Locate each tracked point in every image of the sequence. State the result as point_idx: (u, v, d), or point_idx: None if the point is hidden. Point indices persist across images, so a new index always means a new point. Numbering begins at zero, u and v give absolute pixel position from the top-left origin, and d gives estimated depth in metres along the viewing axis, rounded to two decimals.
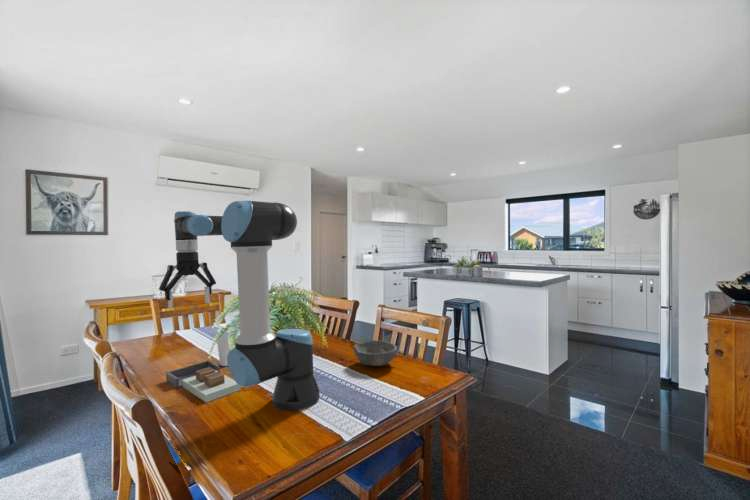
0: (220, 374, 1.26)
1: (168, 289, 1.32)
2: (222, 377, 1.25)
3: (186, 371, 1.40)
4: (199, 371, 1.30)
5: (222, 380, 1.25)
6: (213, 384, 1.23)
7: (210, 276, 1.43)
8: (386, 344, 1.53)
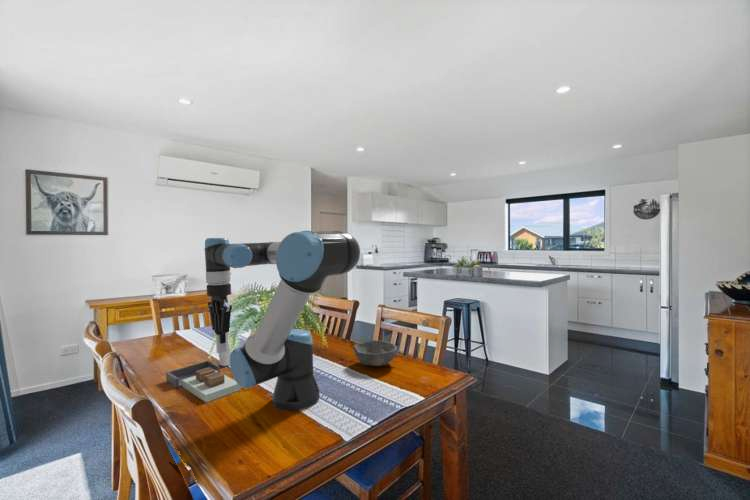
0: (220, 374, 1.26)
1: (215, 330, 1.20)
2: (222, 377, 1.25)
3: (186, 371, 1.40)
4: (199, 371, 1.30)
5: (222, 380, 1.25)
6: (213, 384, 1.23)
7: (221, 322, 1.17)
8: (386, 344, 1.53)
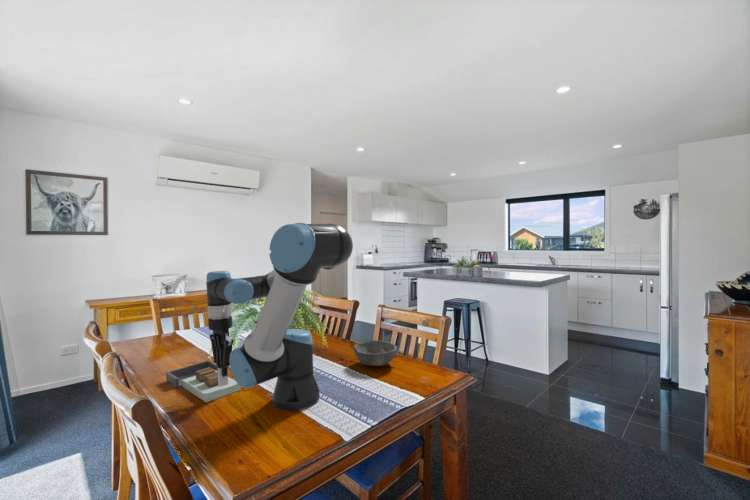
0: None
1: (216, 363, 1.21)
2: None
3: (186, 371, 1.40)
4: (199, 371, 1.30)
5: None
6: (213, 384, 1.23)
7: (223, 356, 1.17)
8: (386, 344, 1.53)
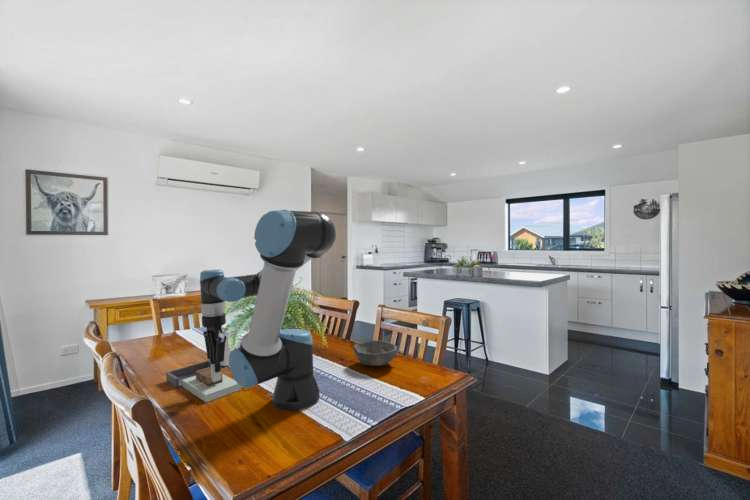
0: None
1: (210, 359, 1.24)
2: None
3: (186, 371, 1.40)
4: (199, 371, 1.30)
5: None
6: (212, 383, 1.24)
7: (216, 352, 1.21)
8: (386, 344, 1.53)
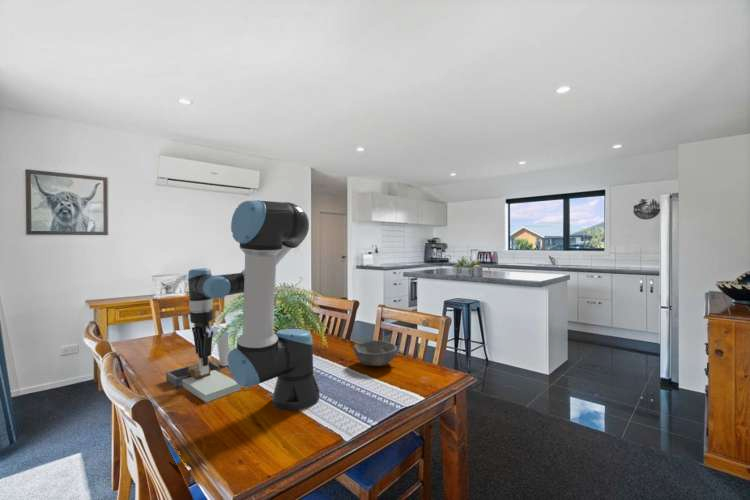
0: None
1: (198, 354, 1.31)
2: None
3: None
4: None
5: None
6: (199, 376, 1.31)
7: (204, 347, 1.27)
8: (386, 344, 1.53)
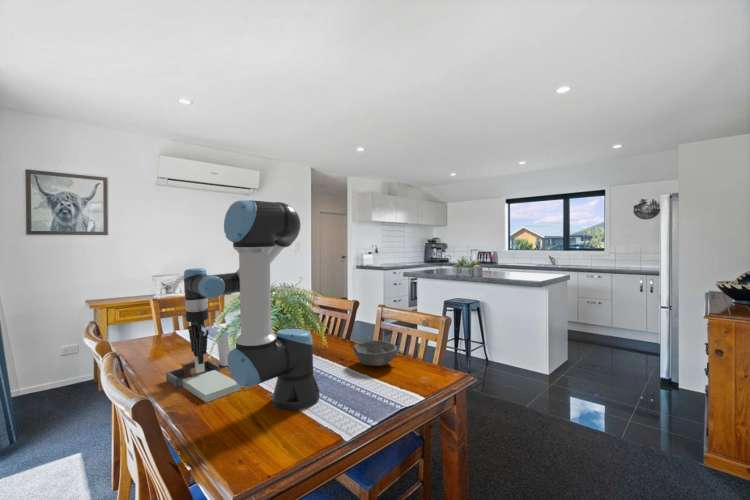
0: None
1: (194, 352, 1.33)
2: None
3: None
4: None
5: None
6: (195, 373, 1.33)
7: (199, 345, 1.30)
8: (386, 344, 1.53)
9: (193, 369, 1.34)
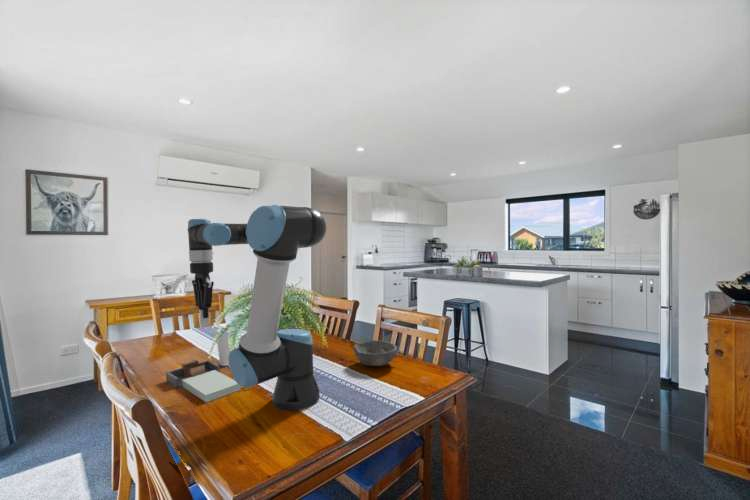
0: (201, 366, 1.37)
1: (198, 306, 1.29)
2: (202, 367, 1.36)
3: None
4: None
5: (203, 370, 1.36)
6: (195, 373, 1.33)
7: (204, 298, 1.25)
8: (386, 344, 1.53)
9: (193, 369, 1.34)
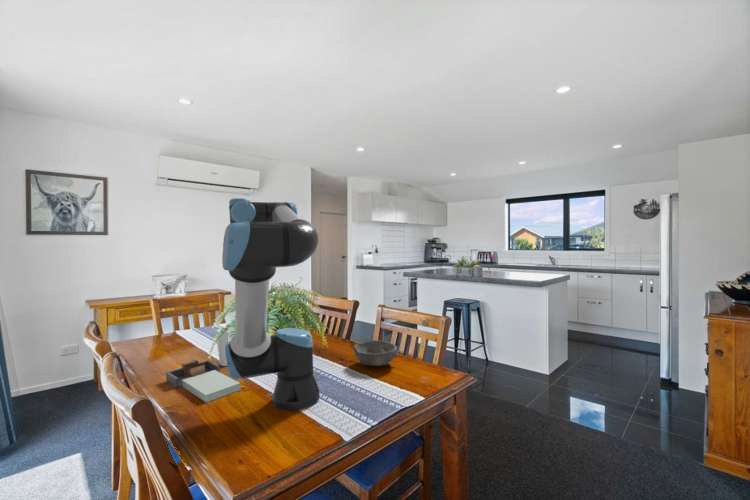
0: (201, 366, 1.37)
1: None
2: (202, 367, 1.36)
3: None
4: None
5: (203, 370, 1.36)
6: (195, 373, 1.33)
7: None
8: (386, 344, 1.53)
9: (193, 369, 1.34)
